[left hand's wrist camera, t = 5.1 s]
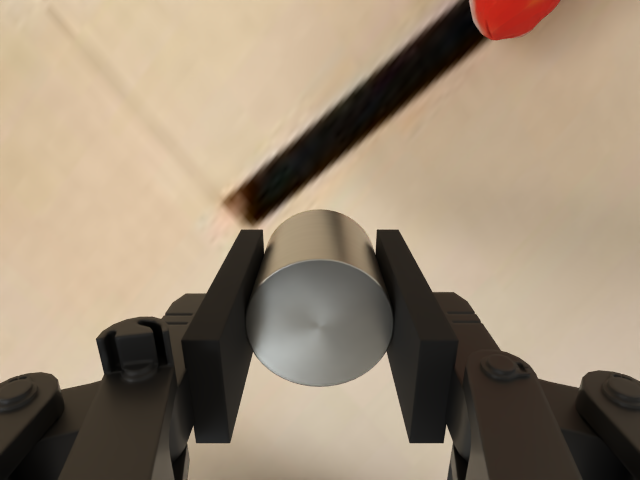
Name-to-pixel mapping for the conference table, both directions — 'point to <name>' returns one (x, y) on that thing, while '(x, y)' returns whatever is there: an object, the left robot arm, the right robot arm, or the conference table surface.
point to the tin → (319, 302)
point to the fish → (509, 16)
